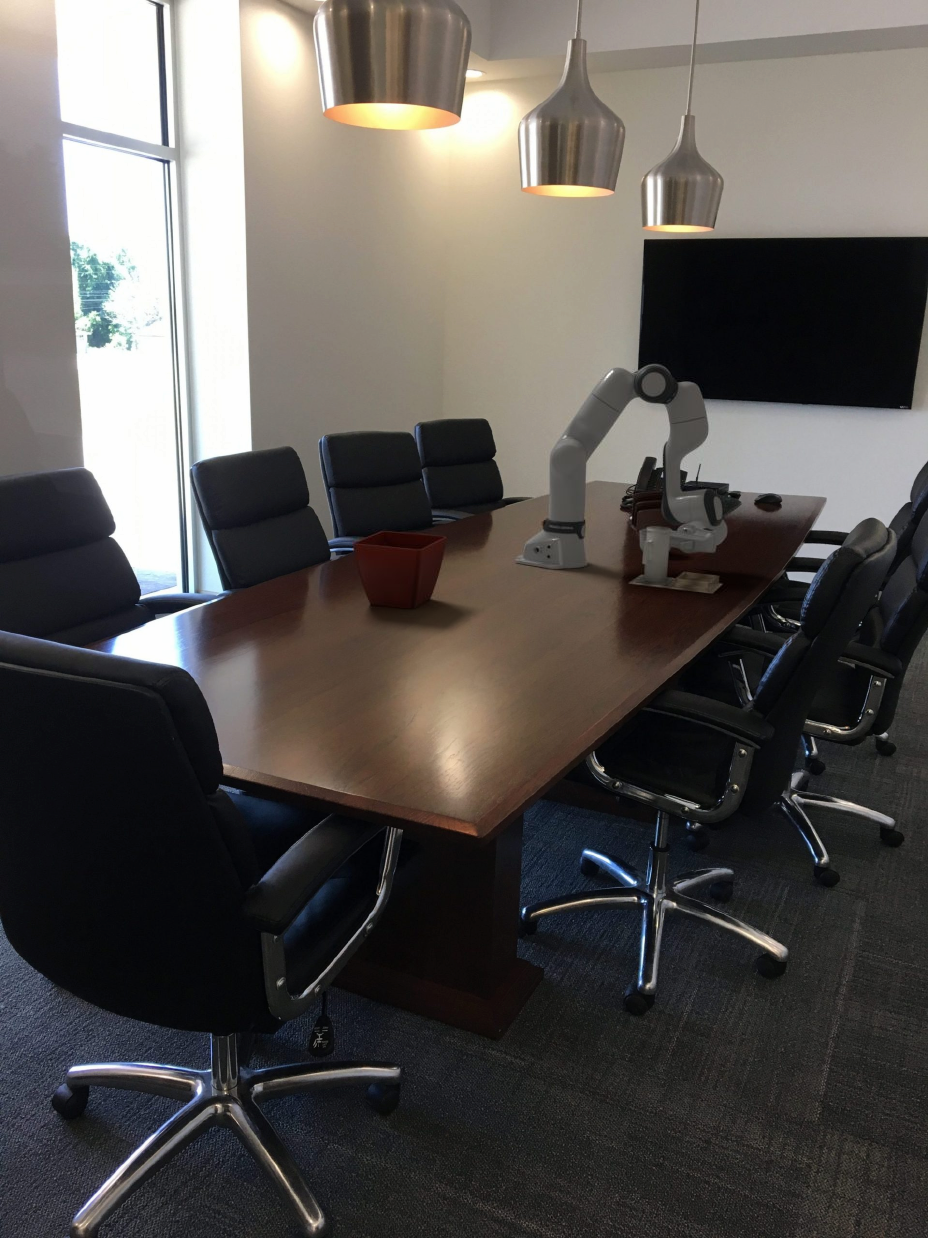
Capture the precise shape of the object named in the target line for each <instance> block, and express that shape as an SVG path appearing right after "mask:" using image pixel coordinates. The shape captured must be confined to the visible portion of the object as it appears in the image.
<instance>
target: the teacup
mask: <svg viewBox="0 0 928 1238" xmlns="http://www.w3.org/2000/svg"><path fill="white" fill-rule="evenodd" d="M671 531H672V530H671ZM638 533H639V548H640V549H641V551H642V552H643V547H644V541H646V536H647V529H643V530H640V531H639V532H638ZM671 550H672V547H669V551H671Z"/></svg>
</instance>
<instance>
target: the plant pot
mask: <svg viewBox="0 0 928 1238" xmlns="http://www.w3.org/2000/svg"><path fill="white" fill-rule="evenodd" d="M446 545H447V536H444V535H434V534H433V535H432V534H423V533H413V532H412V533H411V532H399V531H392V530H391V531H390V530H383V531H382V530H381V531H379V532H377V533H375V534H372V535H369V536H367V537H364V538H361V539H360V540H357V541H355V542H353V543H352V547H353V552H354V558H355V563H356V567H357V571H358V574H359V578H360V580H361V585H362V587H363V590H364V592H365V595H366V598H367V601H368V602H369V604H370V605H372V606H373V605H374V606H382V607H383V606H385V607H391V608H398V609H399V608H401V609H409V610H410V609H411V610H413V609H417V607H420V606H421V605H423V604H424V603H425V602H427V601H429V600H431V599H432V596H433V594H434V590H435V587H436V585H437V581H438V578H439V576H440V575H439V574H440V571H441V568H442V564H443V559H444V554H445V549H446Z"/></svg>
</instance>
